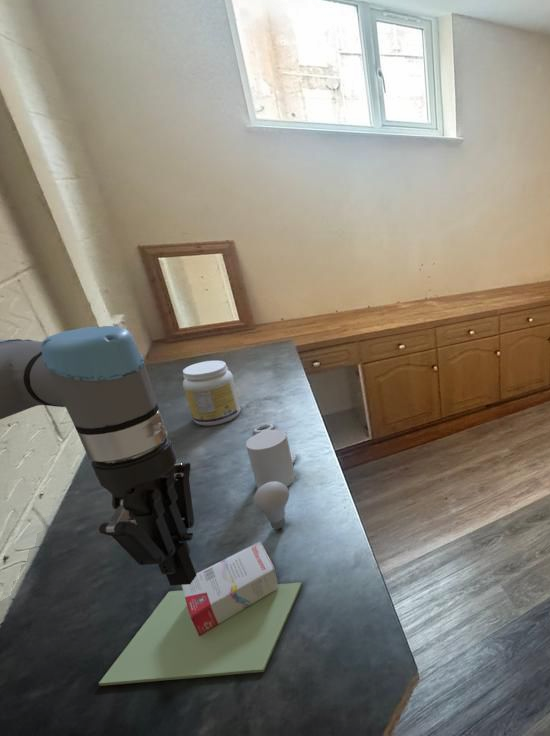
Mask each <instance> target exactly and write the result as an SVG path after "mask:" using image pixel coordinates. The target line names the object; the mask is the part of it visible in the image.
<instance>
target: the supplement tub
mask: <svg viewBox="0 0 550 736" xmlns="http://www.w3.org/2000/svg"><path fill="white" fill-rule="evenodd" d="M182 373H183V378H184V379H183V381H182V387H183V390H184V394H185V397H186V400H187V404H188V407H189V409H190V413H191V416H192V419H193V421H194V423H195V424H197V425H200V426H205V427H207V426H218V425H221V424H225V423H228V422H230V421H232V420H234V419H235V418H237V417H238V416H239V415H240V414H241V412H242V406H241V402H240V398H239V395H238V391H237V386H236V383H235V378H234V375H233V373H232V372H231V371H230V370H229V368H228V366H227V363H226V362H225V361H223V360H205V361H200V362H197V363H193V364H191V365H188V366H186V367H185V368H183V369H182Z"/></svg>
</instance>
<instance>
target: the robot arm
mask: <svg viewBox="0 0 550 736" xmlns="http://www.w3.org/2000/svg"><path fill="white" fill-rule="evenodd" d="M37 406H47V407H57V408H65V409H66V411H67V413H68V415H69V417H70V420H71V421H72V424H73V426H74V428H75V430H76V432H77V434H78V437H79V439H80V441H81V444H82V446H83V448H84V451H85V453H86V456H87V458H88V460H90V461H91V466H92V469H93V471H94V474H95V476H96V478H97V480H98V482H99V484H100V486H101V487H102V488H103V489H105V490H107V491H108V492H109V493H110V494H111V495H112V496H111V506H112V509H114V510H115V511H114V512H113V514H112V516H111V518H110V521H109V522H103V523H101V524H100V525H99V527H98V533H100V534H103V535H106V536H109V537H112V538H113V539H114V540H115V542H117V543H118V544H119V545H120V547H122V548H123V550H124V551H126V552H127V554H128V555H130V557H131V558H132V559H134V561H135V562H136V563H137V564H138V565H139V566H140V565H141V566H144V565H145V566H146V565H158V568H159V570H160V572H161V574H162V575H165V576H166V578H167V580H168V583H169V585H170V586H182V585H187V584H191V582H192V581H193V580H194V578H195V577H196V576H197V575H196V574H197V572H196V570H195V567H194V565H193V562H192V559H191V557H190V554H191V549H190V547H189V543H188V541H191V540H192V539H193V537H194V533H193V532H188V530H189V529H192V528H193V527H194V525H195V517H194V510H193V509H194V508H193V499H192V492H191V484H190V473H191V463H190V462H181V463H178V462H177V458H178V457H177V455H176V452H175V449H174V446H173V444H172V441H171V438H170V437H169V436H168V430H167V428H166V426H165V422H164V419H163V418H162V414H161V412H160V409H159V405H158V401H157V398H156V395H155V392H154V389H153V385H152V383H151V379H150V376H149V374H148V370H147V368H146V363H145V358H144V355H142V352H140V350H139V348H138V346H137V343H136V341H135V338H134V336H133V334H132V333H131V332H130V331H129V330H128V329H126V328H124V327H120V326H117V325H116V326H115V325H103V326H87V327H80V328H74V329H70V330H65V331H61V332H58V333H55V334H52V335H49V336H48V337H46V338H45V339H43V340H42V341H39V340H33V339H28V338H27V339H22V338H21V339H20V338H13V339H0V420H3V419H6V418H8V417H11V416H14V415H16V414H19V413H22V412H24V411H26V410H29V409H31V408H35V407H37Z"/></svg>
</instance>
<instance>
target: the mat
mask: <svg viewBox="0 0 550 736" xmlns="http://www.w3.org/2000/svg"><path fill="white" fill-rule="evenodd" d="M278 586H279V588H278V589H276V590H275V591H273V592H271V593H270V594H268V595H266V596H265V597H263V598H261V599H260V600H258V601H256V602H255V603H253V604H251V605H250V606H248V607H246V608H245V609H243V610H241V611H240V612H238V613H236V614H235V615H233V616H231V617H230V618H228V619H226V620H225V621H223V622H221V623H220V624H218V625H217V626H215V627H213V628H211V629H210V630H208V631H207V632H205V633H203V634H202V635H200V636H198V634H197V633H196V631H195V628H194V626H193V623H192V621H191V618H190V615H189V611H188V607H187V603H186V600H185V596H184V592H183V590H170V591H168V592H167V594H166V595H165V596H164V598H163V599H161V601H160V603H158V605H157V606H156V607H155V609H154V610H153V611H152V613H151V614H150V615H149V617H148V618H147V619H146V621H145V622H144V623H143V625H142V626H141V628H139V630H138V631H137V632H136V634H135V635H134V637H133V638H132V639H131V640H130V642H129V643H128V644H127V646H125V648H124V649H123V651H122V652H121V653H120V655H119V656H118V657H117V658H116V660H115V661H114V663H113V664H112V665H111V666H110V668H109V669H108V670H107V672H106V673H105V674H104V676H103V677H101V679H100V681H98V686H99V687H107V686H116V685H128V684H139V683H149V682H151V683H152V682H161V681H172V680H183V679H184V680H186V679H195V678H196V679H197V678H208V677H221V676H232V675H233V676H234V675H243V674H244V675H245V674H254V673H264V672H265V671H266V669H267V667H268V664H269V662H270V659H271V657H272V655H273V652H274V650H275V648H276V645H277V643H278V641H279V639H280V637H281V634H282V632H283V629H284V627H285V626H286V623H287V622H288V621H287V620H288V618H289V616H290V614H291V612H292V609H293V607H294V604H295V602H296V600H297V598H298V595H299V593H300V590H301V589H302V586H303V583H302V582H289V583H278Z"/></svg>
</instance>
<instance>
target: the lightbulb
mask: <svg viewBox="0 0 550 736" xmlns="http://www.w3.org/2000/svg"><path fill="white" fill-rule="evenodd" d="M289 498H290V491H289V488H288V487H286V486H285V485H284V484H283V483H281V482H277V481H272V482H268V483H265V484H264V485H262V486H261V487H260V488H259V489H257V490H256V491H255V493H254V496H253V505H254V507H255V508H256V510H258V511H259V512H260V513H261V514H264V515H265V517H266V519H267V521H268V522H269V524H270V527H271V529H274V530H279V529H281V528H283V527H284V526H285V524H286V518H285V516H286V511H285V510H286V505H287V503H288V501H289Z"/></svg>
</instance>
